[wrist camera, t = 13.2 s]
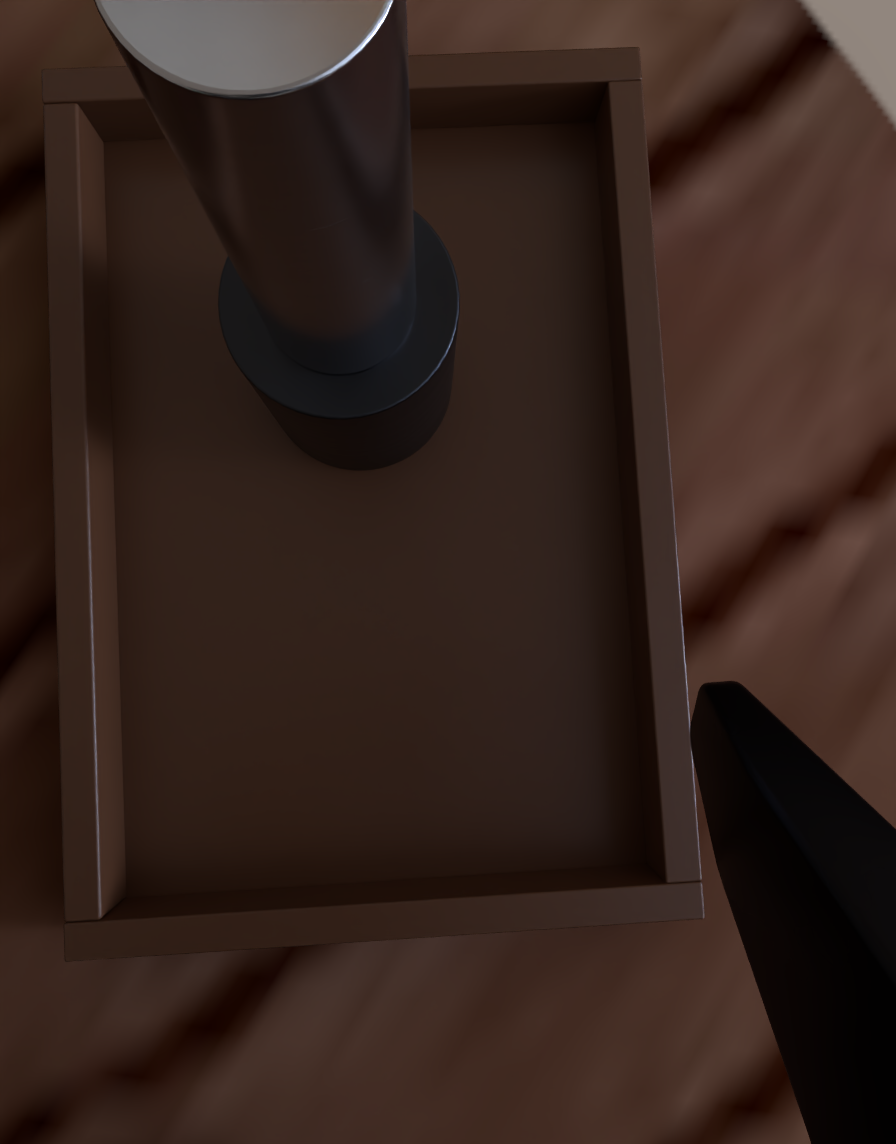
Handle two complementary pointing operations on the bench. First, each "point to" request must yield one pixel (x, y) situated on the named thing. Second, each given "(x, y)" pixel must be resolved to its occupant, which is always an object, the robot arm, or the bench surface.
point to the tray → (370, 554)
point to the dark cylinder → (308, 209)
